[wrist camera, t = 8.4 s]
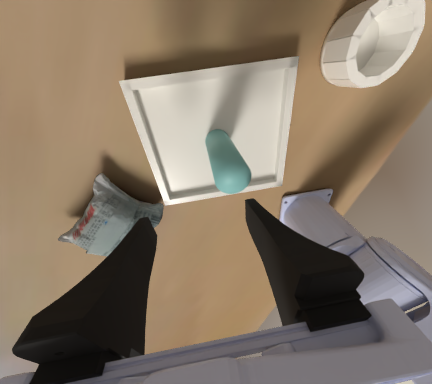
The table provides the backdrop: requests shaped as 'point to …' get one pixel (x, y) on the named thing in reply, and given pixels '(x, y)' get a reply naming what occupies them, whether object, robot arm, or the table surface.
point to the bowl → (371, 42)
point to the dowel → (226, 163)
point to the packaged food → (109, 218)
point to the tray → (214, 123)
